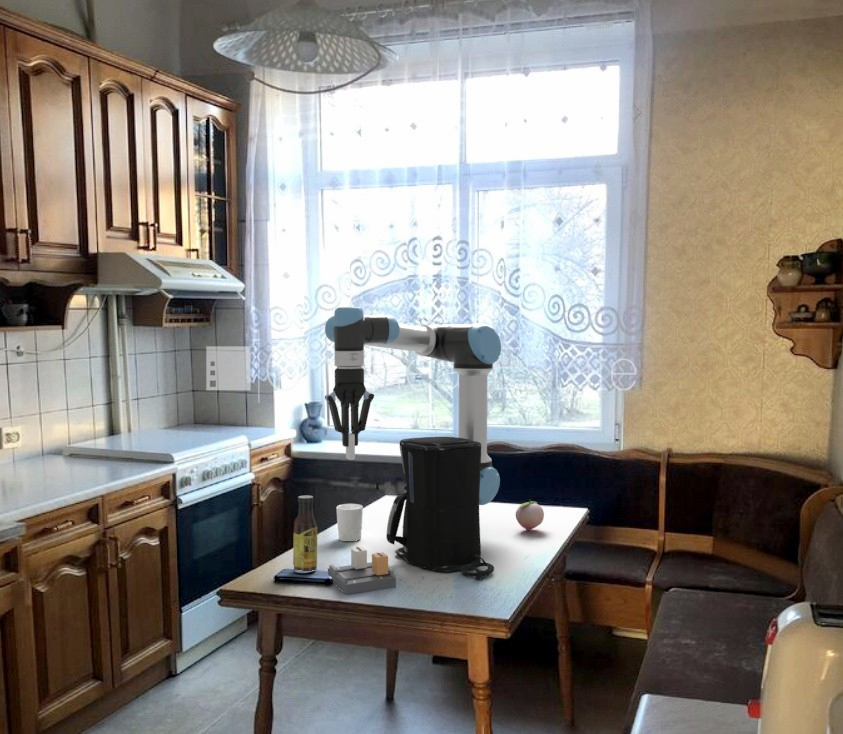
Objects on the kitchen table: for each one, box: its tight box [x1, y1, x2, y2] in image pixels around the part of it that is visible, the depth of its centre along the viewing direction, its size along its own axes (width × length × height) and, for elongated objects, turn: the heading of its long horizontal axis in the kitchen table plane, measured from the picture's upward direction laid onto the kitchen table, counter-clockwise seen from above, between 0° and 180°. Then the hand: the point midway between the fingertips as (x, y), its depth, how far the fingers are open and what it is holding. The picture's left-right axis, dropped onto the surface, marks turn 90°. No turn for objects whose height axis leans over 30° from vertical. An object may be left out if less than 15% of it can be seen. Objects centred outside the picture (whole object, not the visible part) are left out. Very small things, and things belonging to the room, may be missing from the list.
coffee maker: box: [385, 436, 495, 581], centre depth 218 cm, size 23×32×34 cm
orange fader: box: [371, 552, 389, 575], centre depth 199 cm, size 4×3×5 cm
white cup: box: [336, 503, 364, 542], centre depth 241 cm, size 8×8×10 cm
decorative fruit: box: [515, 498, 545, 532], centre depth 249 cm, size 9×8×10 cm
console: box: [327, 561, 397, 596], centre depth 201 cm, size 14×13×4 cm
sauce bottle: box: [292, 494, 318, 571], centre depth 210 cm, size 7×6×20 cm
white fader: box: [350, 546, 368, 569], centre depth 204 cm, size 4×3×5 cm
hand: (350, 458), depth 206 cm, fingers closed
